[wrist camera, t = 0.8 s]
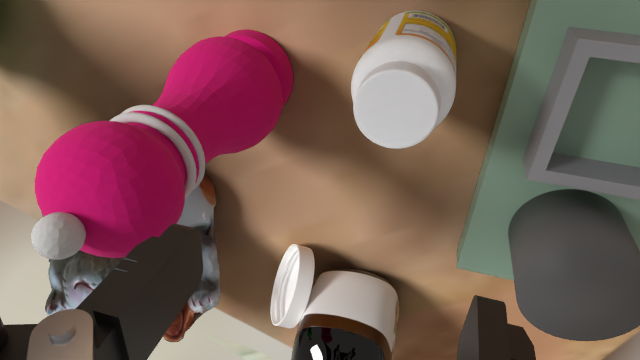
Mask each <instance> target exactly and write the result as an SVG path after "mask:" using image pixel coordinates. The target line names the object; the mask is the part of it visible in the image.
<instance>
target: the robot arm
mask: <svg viewBox="0 0 640 360" xmlns="http://www.w3.org/2000/svg"><path fill="white" fill-rule="evenodd" d="M202 274H203V257H202V247H201V237H200V232H199V230H198V229H196V228H192V227H188V226H184V225H180V224H175V223H173V224H171V225H170V226H169V227H168V228H167V229H166V230H165V231H164V232H163V233H162V235H161V236H160V237H155V236H152V237H150V238H148V239H146V240H145V241H143V242H141V243H139V244H138V245H136V246H135V247H134V248H133V249H132V250H131V251H130V252H129V253H128V254H127V255H126V257H125V259H124V260H122V261H121V262H120V263H119V264H118V265H117V266H116V267H115V270H112V271H111V272H110V273H109V274H108V275H107V276H106V277H105V278H104V280H103V281H102V282H101V283H100V284H99V285H98V286H97V287H96V288H95V289H94V290H93V291H92V292H91V293H90V294H89V295H88V296H87V297H86V298H85V299H84V300H83V301H82V303H81V304H80V305H79V306H78V307H77V308H75V309H67V310H62V311H58V312H56V313H53V314H51V315H49V316H48V317H46V318H45V319H43V320H42V321H41V322H40V323H39V324H24V325H3V323H2V321H1V318H0V360H147V359H148V357H149V355H150V354H151V353H152V351H153V350H154V348H155V347H156V346H157V344H158V343H159V341H160V340H161V338H162V337H163V336H164V334H165V333H166V331H167V330H168V328H169V327H170V325H171V324H172V323H173V321H174V320H175V318H176V317H177V315H178V314H179V313H180V311H181V310H182V308H183V307H184V305H185V304H186V302H187V301H188V300H189V298H190V297H191V295H192V294H193V292H194V291H195V290H196V288H197V287H198V285H199V283H200V281H201V278H202ZM457 360H536V357H535V351H534V345H533V344H532V342H531V340H530V339H529V337H528V335H527V334H526V332H525V330H524V329H523V327H519V326H515V325H511V324H507V314H506V305H505V303H504V302H502V301H498V300H494V299H489V298H485V297H481V296H477V295H475V296H474V298H473V300H472V303H471V306H470V309H469V311H468V314H467V317H466V320H465V323H464V326H463V329H462V331H461V335H460V339H459V345H458V353H457Z"/></svg>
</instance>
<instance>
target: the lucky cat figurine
mask: <svg viewBox="0 0 640 360" xmlns="http://www.w3.org/2000/svg"><path fill="white" fill-rule="evenodd" d="M215 205H216V193H215V188H214V185H213V183H212V181H211V180H210V179H209V177H208V176H207V175H206V174H205V173H204V176H203V179H202V181H201V182H200V184H199V185H198V186H197V187H196V188H195V189H194V190H193V191H192V192H191V194H190V195H189V196H188V197H187V198H186V199H185V204H184V208H183V212H182V215H181V217H180V219H179V220H178V222H177V224H180V225H184V226H188V227H192V228H196V229H198V230H199V232H200V237H201V247H202V257H203V274H202V278H201V281H200V283H199V285H198V287H197V288H196V290H195V291H194V292H193V294H192V295H191V297H190V298H189V300H188V301H187V302H186V304H185V305H184V307H183V308H182V310H181V311H180V313H179V314H178V315H177V317H176V318H175V320H174V321H173V323H172V324H171V325H170V327H169V328H168V330H167V331H166V333H165V334H164V336H163V337H164V339H165V340H167V341H169V342H179V341H180V340H181V339H183V337H184V334H185V332H186V331H187V330H188V329H189V328H190V327H191V326H192V324H193V323H194V322H195V321H196V320H197V319H198V318H199V317H200V316H201V315H202V314H203V313H205V312H206V311H208V310H210V309H212V308H213V307H215V306H216V305H217V304H218V301H219V298H220V285H219V276H220V272H219V264H218V261H217V250H216V242H215V235H214V221H213V217H214V211H213V209H214V206H215ZM42 216H43V214H42ZM43 217H44V216H43ZM124 259H125V257H122V258H108V257H100V256H95V255H92V254H89V253H86V252H83V251H81V250H79V251H78V252H77V253H76V254H74V255H72V256H71V257H68V258H65V259H60V260H54V259H49V262H50V267H49V280H50V284H51V288H52V291H51V293H50V295H49V297H48V299H47V302H46V306H45V310H46V313H47V315H51V314H53V313H56V312H58V311H62V310H67V309H75V308H77V307H78V306H79V305H80V304H81V303H82V301H83V300H84V299H85V298H86V297H87V296H88V295H89V294H90V293H91V292H92V291H93V290H94V289H95V288H96V287H97V286H98V285H99V284H100V283H101V282H102V281H103V280H104V278H105V277H106V276H107V275H108V274H109V273H110V272H111V271H112V270H115V267H116V266H117V265H118V264H119V263H120V262H121V261H122V260H124Z"/></svg>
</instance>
